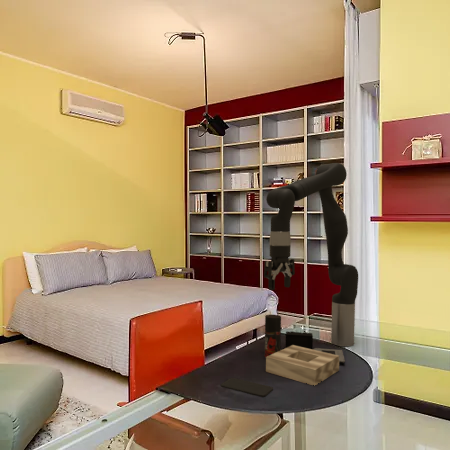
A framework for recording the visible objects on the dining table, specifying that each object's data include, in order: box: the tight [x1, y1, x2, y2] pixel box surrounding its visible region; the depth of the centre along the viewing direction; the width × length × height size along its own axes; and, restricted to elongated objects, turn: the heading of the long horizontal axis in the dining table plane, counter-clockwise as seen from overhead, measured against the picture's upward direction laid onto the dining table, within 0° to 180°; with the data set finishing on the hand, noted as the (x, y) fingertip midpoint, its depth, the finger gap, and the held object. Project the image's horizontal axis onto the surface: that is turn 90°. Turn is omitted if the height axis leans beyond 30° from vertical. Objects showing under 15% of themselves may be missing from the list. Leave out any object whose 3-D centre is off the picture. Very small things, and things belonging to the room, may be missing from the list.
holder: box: [265, 345, 340, 387], centre depth 141 cm, size 18×18×5 cm
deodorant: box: [263, 314, 282, 358], centre depth 155 cm, size 6×6×15 cm
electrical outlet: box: [313, 347, 346, 364], centre depth 154 cm, size 13×10×2 cm
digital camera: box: [284, 331, 314, 350], centre depth 163 cm, size 10×5×7 cm, turn 80°
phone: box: [220, 377, 274, 398], centre depth 126 cm, size 7×1×15 cm
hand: (279, 288), depth 151 cm, fingers open, 8 cm apart
